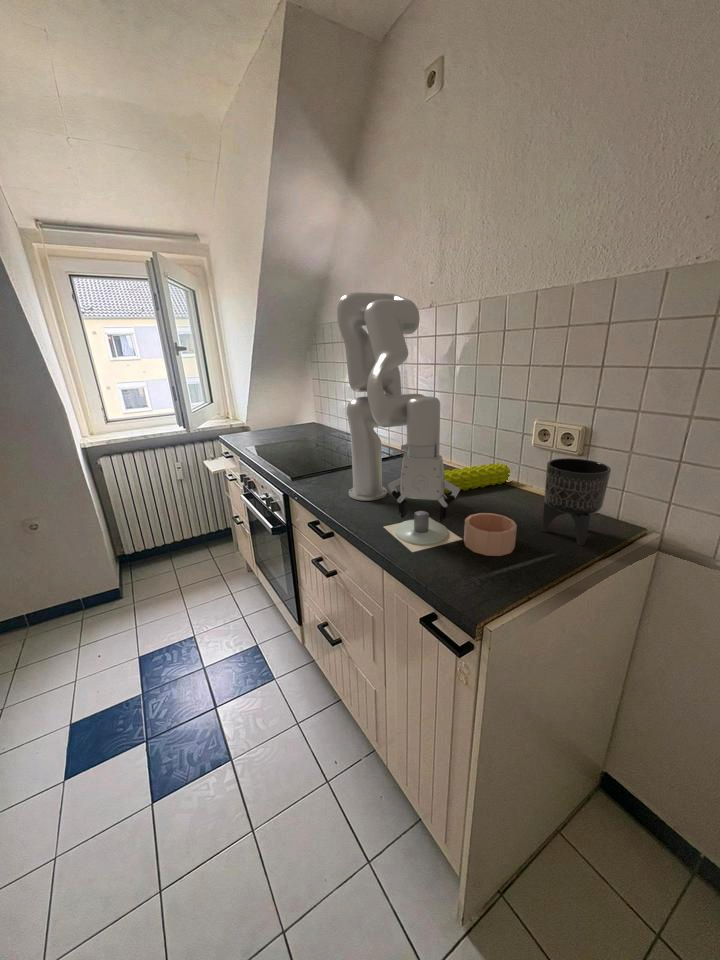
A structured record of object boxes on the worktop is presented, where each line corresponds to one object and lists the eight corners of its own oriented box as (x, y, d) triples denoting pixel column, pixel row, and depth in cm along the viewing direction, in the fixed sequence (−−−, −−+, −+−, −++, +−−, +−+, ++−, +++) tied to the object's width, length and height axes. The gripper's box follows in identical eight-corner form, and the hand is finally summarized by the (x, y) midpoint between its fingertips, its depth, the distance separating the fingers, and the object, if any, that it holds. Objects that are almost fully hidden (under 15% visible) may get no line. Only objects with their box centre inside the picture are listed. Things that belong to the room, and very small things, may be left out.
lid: (386, 527, 98) (386, 509, 97) (428, 518, 103) (429, 500, 101) (411, 549, 87) (412, 529, 85) (458, 538, 92) (459, 518, 90)
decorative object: (419, 491, 125) (420, 471, 123) (501, 478, 136) (503, 459, 134) (430, 498, 119) (431, 477, 116) (515, 484, 129) (517, 464, 127)
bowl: (454, 541, 91) (455, 518, 89) (490, 531, 95) (492, 510, 93) (485, 562, 82) (487, 537, 80) (524, 551, 86) (527, 527, 84)
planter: (611, 545, 87) (625, 472, 81) (557, 549, 86) (568, 475, 80) (576, 521, 99) (586, 456, 93) (528, 525, 98) (536, 459, 93)
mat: (383, 528, 99) (383, 526, 99) (428, 518, 104) (428, 516, 104) (412, 554, 86) (412, 552, 86) (462, 541, 91) (462, 539, 91)
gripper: (382, 452, 88) (384, 520, 93) (458, 456, 81) (456, 528, 86) (392, 445, 94) (393, 509, 99) (463, 448, 88) (460, 516, 93)
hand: (422, 518), depth 93 cm, fingers open, 9 cm apart
